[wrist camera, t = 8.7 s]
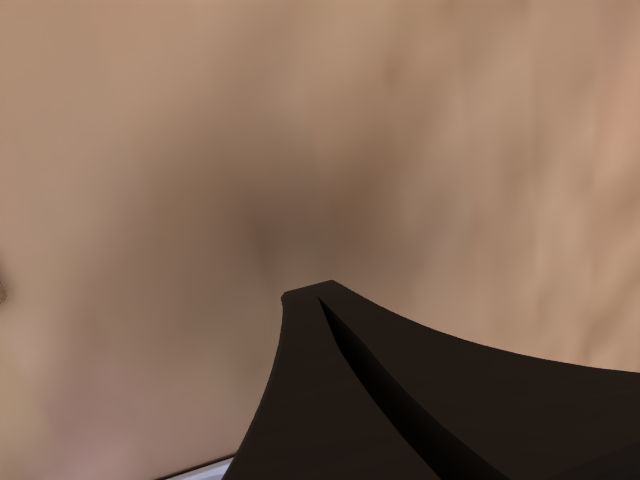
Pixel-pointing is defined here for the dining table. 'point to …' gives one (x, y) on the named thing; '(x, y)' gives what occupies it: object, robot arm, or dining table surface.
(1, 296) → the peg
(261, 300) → the dining table surface
